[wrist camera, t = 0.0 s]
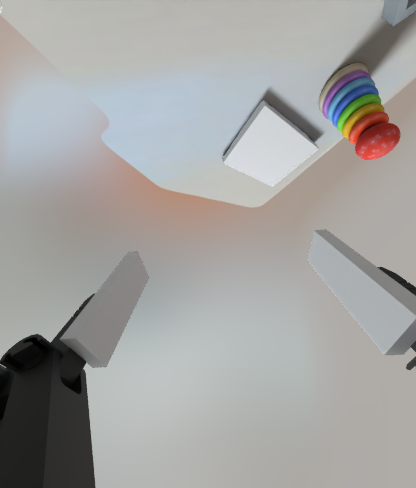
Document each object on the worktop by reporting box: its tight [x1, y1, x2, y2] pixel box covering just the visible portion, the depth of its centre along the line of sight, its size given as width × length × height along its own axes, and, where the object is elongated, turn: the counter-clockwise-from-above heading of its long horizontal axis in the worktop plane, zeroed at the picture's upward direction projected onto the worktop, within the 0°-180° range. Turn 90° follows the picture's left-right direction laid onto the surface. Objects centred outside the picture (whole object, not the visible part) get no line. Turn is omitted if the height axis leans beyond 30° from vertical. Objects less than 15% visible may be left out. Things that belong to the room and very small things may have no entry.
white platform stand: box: [222, 100, 319, 187], centre depth 44 cm, size 15×3×20 cm
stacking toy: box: [318, 63, 400, 160], centre depth 29 cm, size 8×8×19 cm
